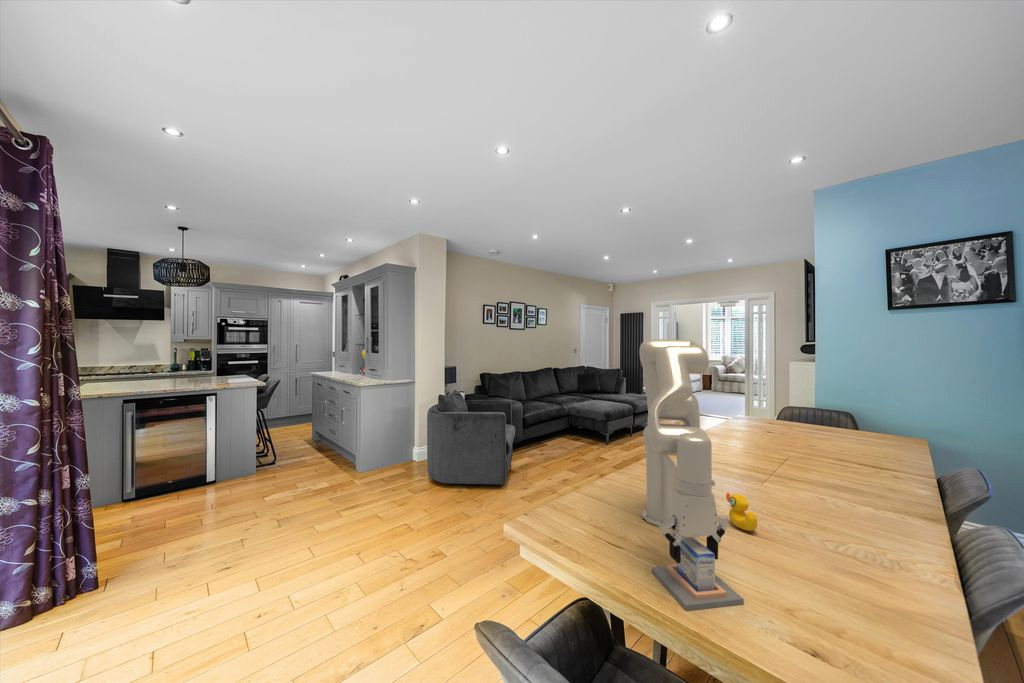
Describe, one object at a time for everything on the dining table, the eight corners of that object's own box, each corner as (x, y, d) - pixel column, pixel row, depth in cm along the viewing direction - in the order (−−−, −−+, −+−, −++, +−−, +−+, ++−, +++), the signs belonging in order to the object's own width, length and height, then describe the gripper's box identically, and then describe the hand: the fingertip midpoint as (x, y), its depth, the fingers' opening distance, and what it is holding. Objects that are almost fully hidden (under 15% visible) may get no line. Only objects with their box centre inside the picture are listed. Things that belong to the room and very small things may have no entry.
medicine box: (676, 572, 91) (676, 537, 91) (693, 571, 92) (692, 535, 92) (698, 593, 83) (698, 554, 83) (715, 591, 84) (715, 553, 84)
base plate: (701, 567, 95) (701, 558, 95) (743, 604, 81) (743, 594, 82) (651, 572, 93) (651, 563, 93) (686, 610, 79) (686, 600, 79)
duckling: (720, 519, 123) (719, 489, 123) (734, 518, 124) (734, 488, 124) (747, 536, 111) (746, 503, 112) (762, 535, 112) (762, 502, 113)
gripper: (715, 478, 93) (715, 546, 93) (652, 482, 90) (652, 552, 90) (737, 490, 86) (738, 564, 86) (669, 495, 83) (669, 571, 83)
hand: (693, 558), depth 88 cm, fingers open, 9 cm apart
